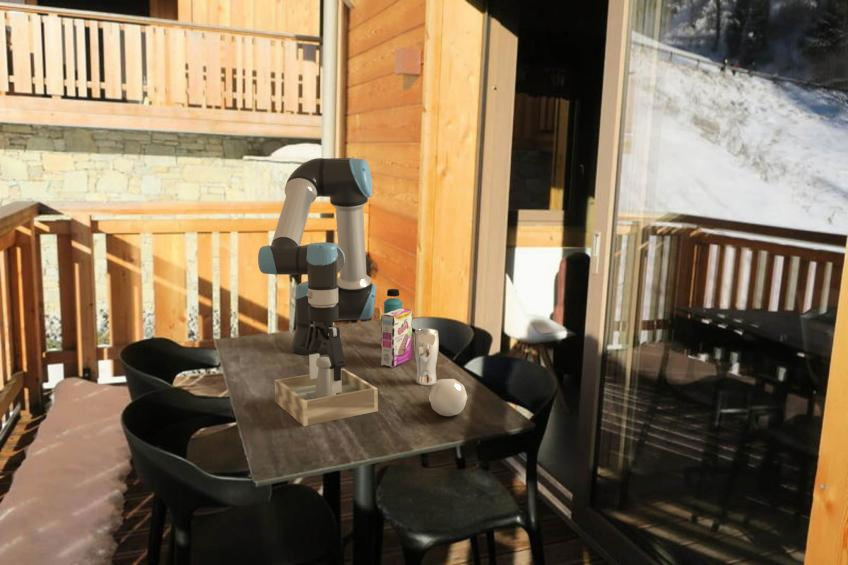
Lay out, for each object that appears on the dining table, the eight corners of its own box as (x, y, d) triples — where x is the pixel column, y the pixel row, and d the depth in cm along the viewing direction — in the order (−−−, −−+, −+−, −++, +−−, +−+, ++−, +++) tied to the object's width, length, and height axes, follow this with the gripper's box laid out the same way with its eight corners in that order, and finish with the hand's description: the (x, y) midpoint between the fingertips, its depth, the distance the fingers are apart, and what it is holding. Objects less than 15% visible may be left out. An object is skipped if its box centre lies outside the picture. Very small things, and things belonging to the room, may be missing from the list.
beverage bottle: (385, 344, 245) (384, 287, 241) (404, 344, 244) (404, 287, 240) (381, 349, 238) (381, 290, 235) (401, 350, 238) (400, 291, 234)
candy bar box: (394, 368, 217) (393, 316, 214) (380, 366, 219) (379, 314, 216) (412, 359, 226) (412, 309, 223) (399, 357, 229) (399, 307, 226)
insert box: (275, 401, 187) (274, 380, 186) (344, 389, 197) (344, 368, 196) (303, 426, 170) (303, 402, 169) (377, 411, 181) (377, 388, 179)
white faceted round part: (444, 428, 173) (440, 413, 188) (477, 405, 173) (470, 392, 188) (422, 398, 172) (419, 385, 187) (454, 374, 172) (449, 364, 187)
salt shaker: (332, 411, 181) (331, 361, 178) (311, 409, 182) (309, 360, 179) (339, 403, 186) (338, 355, 184) (318, 401, 187) (317, 354, 185)
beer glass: (426, 376, 209) (426, 327, 206) (443, 381, 204) (443, 331, 201) (409, 381, 204) (409, 331, 201) (426, 387, 199) (426, 335, 197)
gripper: (291, 297, 188) (293, 374, 191) (329, 315, 167) (331, 401, 170) (317, 294, 192) (319, 370, 195) (358, 311, 171) (359, 396, 174)
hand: (325, 385), depth 183 cm, fingers open, 13 cm apart
